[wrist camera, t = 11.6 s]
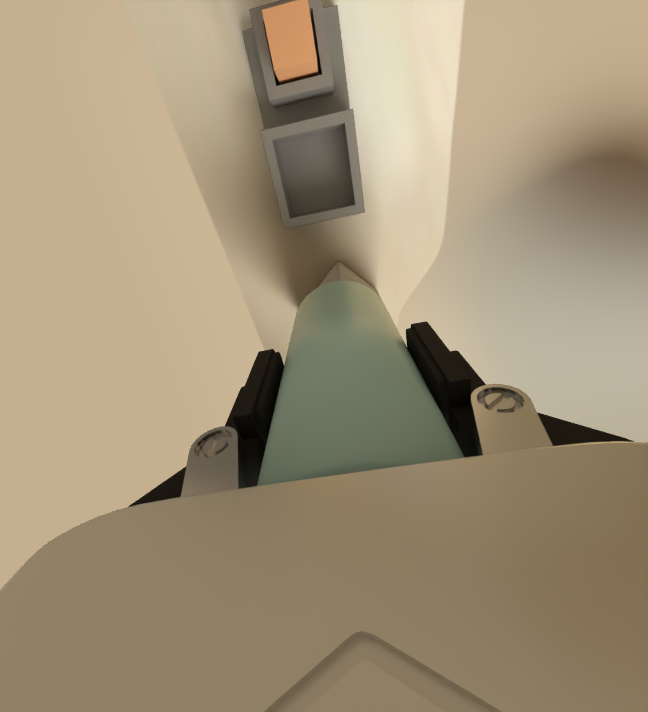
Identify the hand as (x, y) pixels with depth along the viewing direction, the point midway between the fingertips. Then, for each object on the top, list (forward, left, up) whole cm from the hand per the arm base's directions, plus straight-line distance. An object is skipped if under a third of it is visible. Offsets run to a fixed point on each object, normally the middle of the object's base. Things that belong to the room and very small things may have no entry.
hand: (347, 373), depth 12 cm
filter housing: (+6, +10, -27) cm, 29 cm away
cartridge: (0, 0, -4) cm, 4 cm away
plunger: (+8, +13, -25) cm, 30 cm away
